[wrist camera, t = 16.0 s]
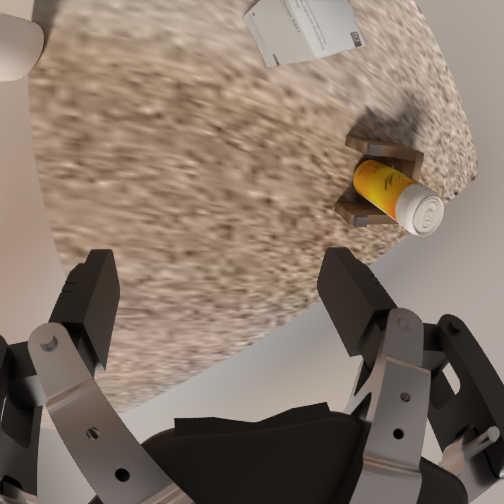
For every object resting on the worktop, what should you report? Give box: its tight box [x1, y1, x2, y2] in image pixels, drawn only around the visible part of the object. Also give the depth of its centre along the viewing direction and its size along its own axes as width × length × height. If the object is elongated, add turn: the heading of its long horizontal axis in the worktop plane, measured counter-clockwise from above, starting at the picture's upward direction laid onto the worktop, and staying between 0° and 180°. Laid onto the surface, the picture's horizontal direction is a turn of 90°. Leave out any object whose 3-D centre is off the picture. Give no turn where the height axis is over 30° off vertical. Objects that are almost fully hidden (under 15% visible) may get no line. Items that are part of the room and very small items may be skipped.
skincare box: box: [243, 0, 366, 68], centre depth 23 cm, size 8×6×15 cm
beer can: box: [353, 160, 444, 236], centre depth 36 cm, size 6×6×15 cm
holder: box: [335, 136, 424, 227], centre depth 40 cm, size 12×12×6 cm
